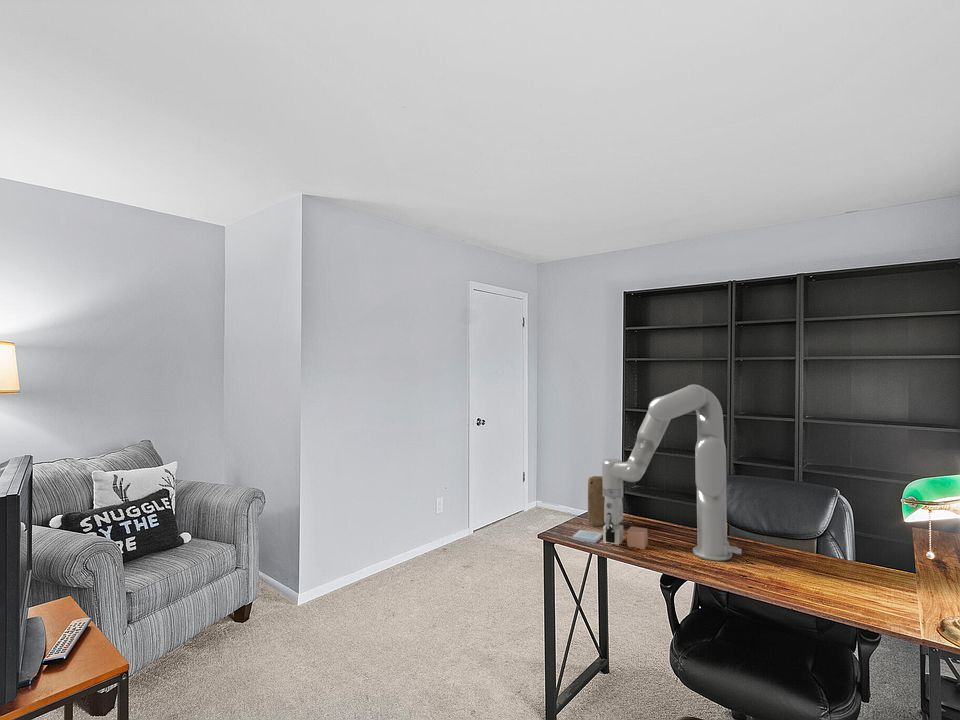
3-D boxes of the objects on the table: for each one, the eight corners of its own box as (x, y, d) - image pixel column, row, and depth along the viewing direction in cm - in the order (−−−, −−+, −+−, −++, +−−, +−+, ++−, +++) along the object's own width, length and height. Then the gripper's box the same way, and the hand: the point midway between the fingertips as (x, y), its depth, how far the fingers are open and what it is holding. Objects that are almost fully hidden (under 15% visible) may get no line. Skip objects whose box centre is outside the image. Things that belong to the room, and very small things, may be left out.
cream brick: (623, 541, 196) (623, 525, 196) (619, 545, 191) (619, 529, 191) (607, 538, 199) (607, 523, 199) (603, 543, 194) (603, 527, 194)
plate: (602, 536, 202) (602, 533, 202) (595, 543, 194) (595, 539, 194) (580, 532, 206) (580, 529, 206) (572, 539, 198) (572, 536, 198)
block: (586, 525, 216) (586, 477, 216) (591, 520, 222) (590, 474, 223) (612, 529, 211) (612, 479, 211) (616, 524, 217) (616, 476, 218)
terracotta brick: (647, 544, 192) (647, 528, 192) (644, 549, 187) (643, 533, 187) (631, 542, 195) (631, 526, 195) (627, 547, 189) (627, 530, 190)
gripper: (616, 498, 186) (617, 547, 186) (628, 488, 201) (628, 534, 201) (596, 496, 190) (596, 544, 189) (609, 486, 205) (609, 531, 205)
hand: (613, 538), depth 195 cm, fingers open, 7 cm apart
